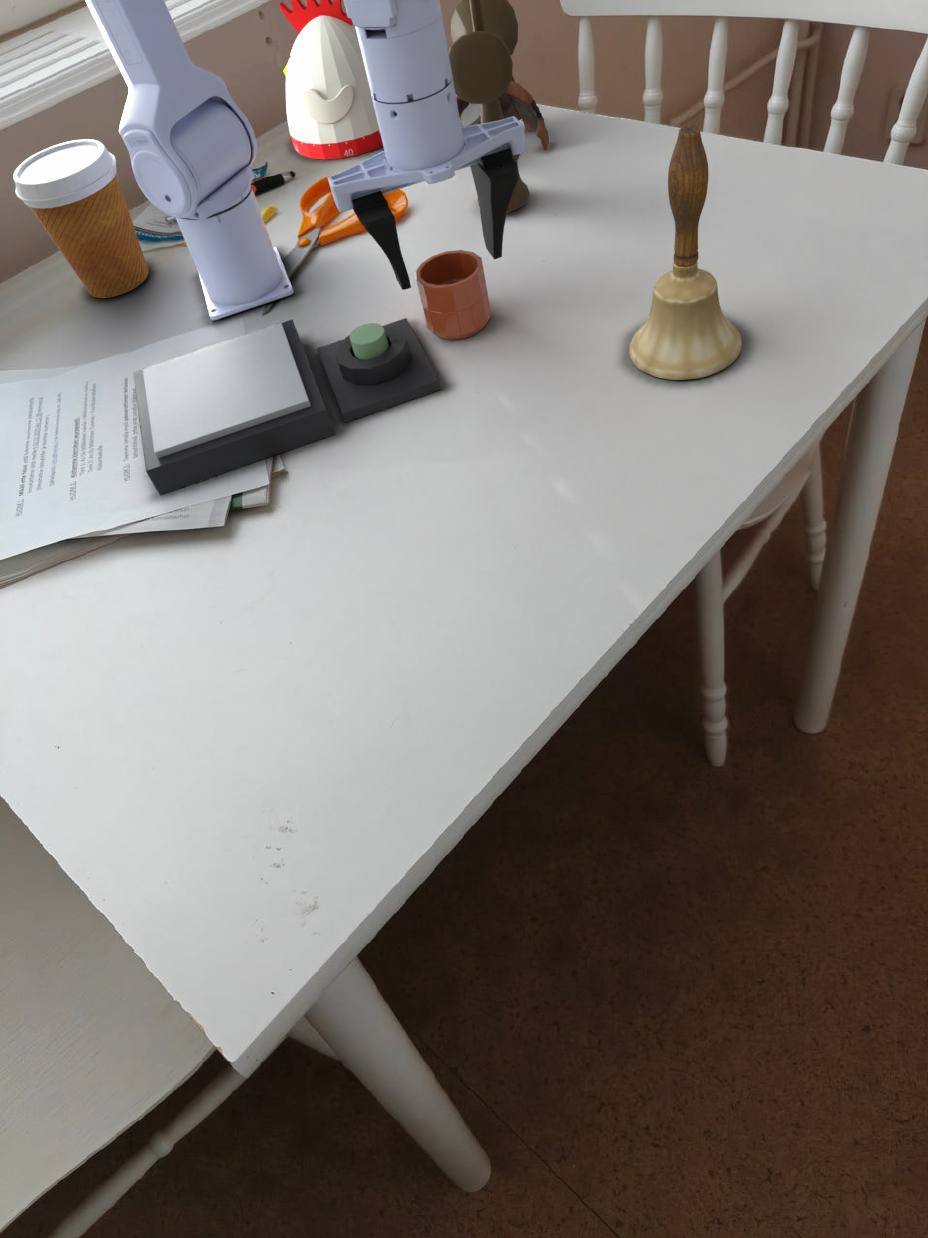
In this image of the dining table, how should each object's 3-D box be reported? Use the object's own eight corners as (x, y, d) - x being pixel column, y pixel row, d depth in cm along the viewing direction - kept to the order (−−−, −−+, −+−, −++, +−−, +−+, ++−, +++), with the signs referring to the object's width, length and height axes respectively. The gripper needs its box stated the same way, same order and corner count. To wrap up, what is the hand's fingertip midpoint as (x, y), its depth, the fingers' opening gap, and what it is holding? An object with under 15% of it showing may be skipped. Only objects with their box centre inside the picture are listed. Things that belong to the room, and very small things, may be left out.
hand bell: (648, 311, 74) (643, 100, 62) (754, 321, 71) (770, 100, 59) (614, 374, 69) (601, 160, 57) (725, 388, 66) (736, 164, 54)
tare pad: (319, 356, 78) (310, 331, 76) (408, 326, 79) (402, 300, 77) (344, 423, 72) (336, 396, 70) (442, 389, 72) (436, 362, 70)
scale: (145, 395, 79) (129, 365, 77) (301, 342, 80) (290, 312, 78) (159, 495, 70) (142, 465, 68) (335, 434, 71) (324, 402, 69)
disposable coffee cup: (84, 319, 89) (17, 198, 80) (65, 280, 95) (0, 163, 86) (175, 280, 91) (119, 157, 82) (151, 245, 97) (96, 126, 88)
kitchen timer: (307, 112, 113) (266, -31, 101) (417, 96, 110) (387, -53, 99) (282, 166, 104) (234, 16, 93) (401, 149, 101) (366, -8, 90)
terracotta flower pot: (420, 317, 79) (407, 263, 75) (480, 297, 80) (470, 242, 76) (438, 349, 76) (425, 294, 72) (501, 328, 76) (492, 272, 72)
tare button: (351, 346, 74) (346, 330, 73) (384, 335, 74) (379, 318, 73) (359, 364, 72) (353, 347, 71) (392, 353, 73) (388, 336, 71)
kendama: (536, 176, 92) (508, -64, 77) (534, 225, 86) (504, -25, 71) (476, 184, 93) (437, -51, 78) (471, 233, 87) (427, -11, 72)
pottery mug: (557, 165, 94) (510, 105, 88) (482, 211, 99) (433, 157, 93) (554, 85, 99) (509, 23, 93) (483, 133, 104) (436, 77, 98)
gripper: (323, 138, 60) (375, 321, 71) (530, 71, 61) (552, 261, 72) (303, 102, 65) (354, 279, 75) (496, 41, 66) (521, 223, 76)
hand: (449, 267), depth 74 cm, fingers open, 7 cm apart
